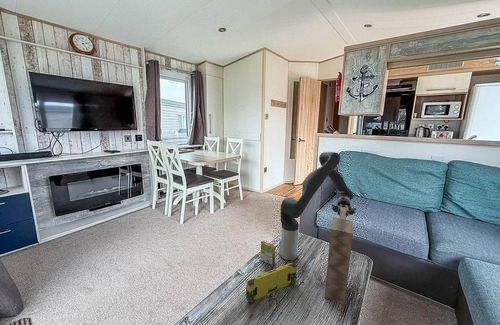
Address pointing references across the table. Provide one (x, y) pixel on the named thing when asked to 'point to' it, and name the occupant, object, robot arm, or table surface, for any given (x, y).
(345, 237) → the wooden block
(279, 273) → the gaming console
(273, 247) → the crayon box
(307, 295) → the table surface
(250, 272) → the table surface
